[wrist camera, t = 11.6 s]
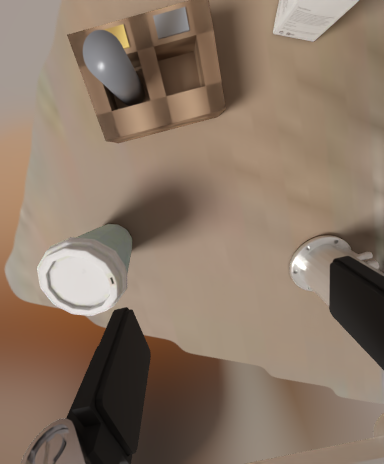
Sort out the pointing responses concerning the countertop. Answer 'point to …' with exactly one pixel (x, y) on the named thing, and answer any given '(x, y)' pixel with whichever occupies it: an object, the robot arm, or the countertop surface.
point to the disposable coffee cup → (87, 270)
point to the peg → (112, 66)
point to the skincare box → (308, 17)
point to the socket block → (160, 71)
